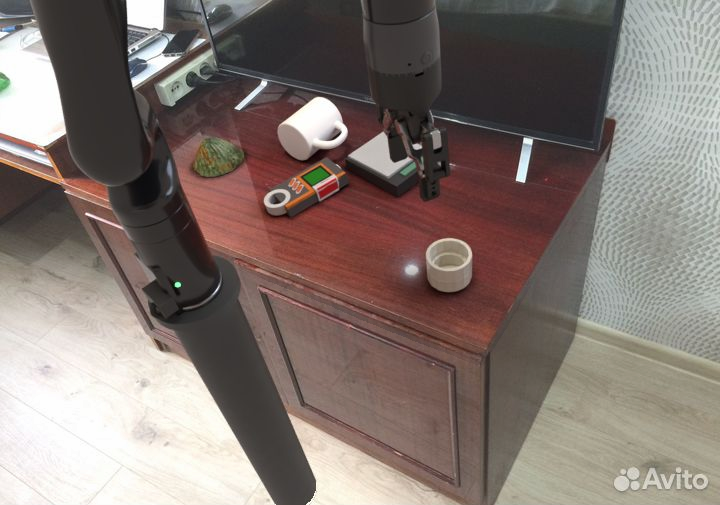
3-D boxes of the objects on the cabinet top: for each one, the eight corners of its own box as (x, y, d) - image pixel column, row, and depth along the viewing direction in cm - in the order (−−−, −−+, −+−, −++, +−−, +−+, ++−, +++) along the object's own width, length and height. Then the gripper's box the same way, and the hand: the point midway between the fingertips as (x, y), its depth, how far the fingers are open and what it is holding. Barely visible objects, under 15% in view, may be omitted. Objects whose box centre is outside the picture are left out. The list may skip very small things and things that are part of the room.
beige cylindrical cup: (452, 301, 84) (451, 278, 80) (418, 280, 87) (416, 256, 84) (480, 275, 86) (481, 251, 83) (446, 255, 90) (446, 231, 87)
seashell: (197, 165, 108) (180, 141, 115) (202, 183, 111) (185, 158, 117) (248, 147, 111) (228, 124, 118) (252, 165, 114) (232, 142, 121)
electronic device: (256, 195, 103) (327, 154, 107) (261, 207, 105) (331, 167, 109) (275, 214, 98) (348, 171, 103) (279, 226, 101) (351, 184, 105)
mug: (282, 154, 114) (272, 118, 109) (315, 127, 119) (307, 92, 114) (329, 172, 108) (322, 136, 103) (362, 143, 113) (356, 107, 108)
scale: (397, 197, 101) (396, 183, 99) (346, 169, 108) (344, 155, 106) (440, 165, 106) (439, 151, 104) (388, 140, 113) (386, 126, 111)
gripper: (343, 36, 64) (363, 157, 75) (398, 95, 54) (411, 224, 66) (406, 16, 65) (416, 138, 77) (471, 70, 55) (471, 201, 67)
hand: (414, 178), depth 71 cm, fingers open, 8 cm apart
